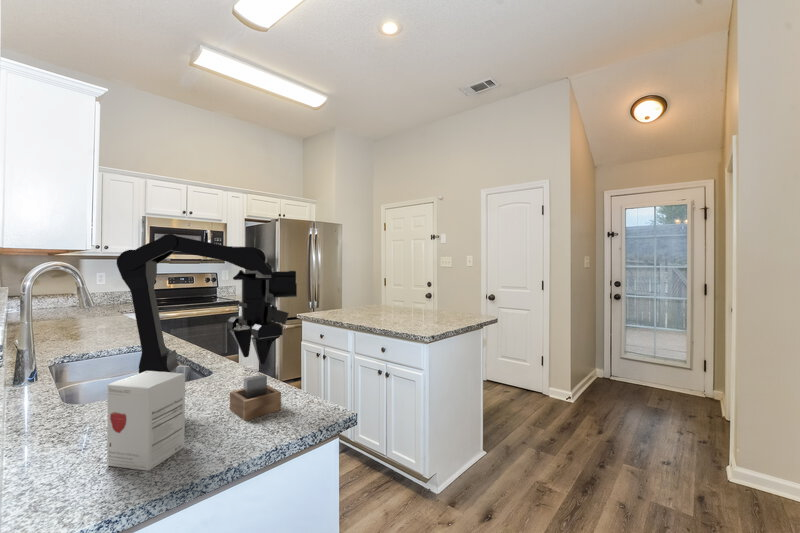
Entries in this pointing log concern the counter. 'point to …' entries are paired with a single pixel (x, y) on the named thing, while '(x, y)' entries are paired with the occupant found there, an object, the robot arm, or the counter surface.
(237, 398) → the square frame
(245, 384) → the bracket
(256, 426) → the counter surface
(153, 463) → the supplement box
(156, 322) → the robot arm
